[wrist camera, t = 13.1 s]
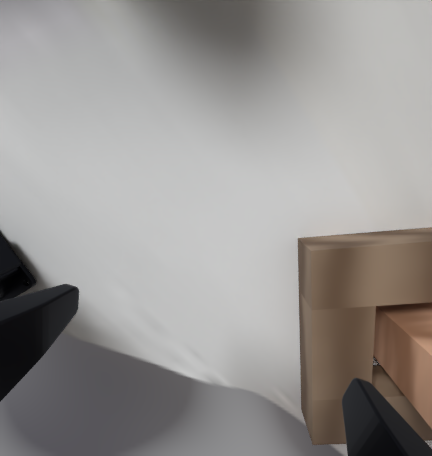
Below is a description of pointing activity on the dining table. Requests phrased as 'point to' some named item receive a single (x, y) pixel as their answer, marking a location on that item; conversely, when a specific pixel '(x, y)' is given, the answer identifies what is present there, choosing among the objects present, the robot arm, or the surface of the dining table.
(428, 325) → the terracotta peg
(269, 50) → the dining table surface
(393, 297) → the walnut hole board
